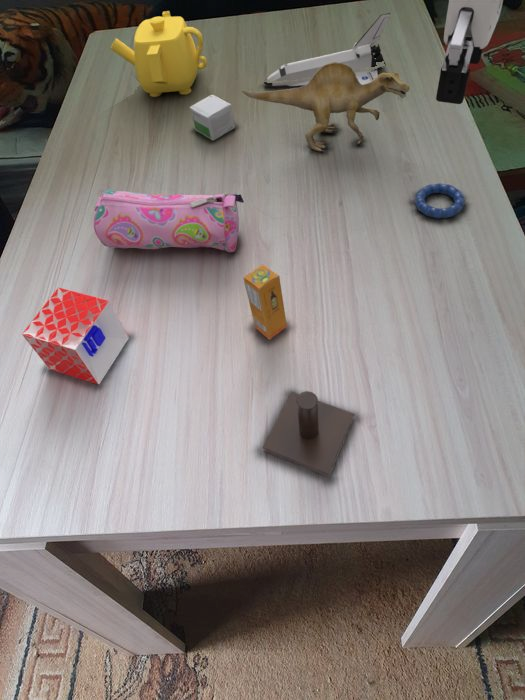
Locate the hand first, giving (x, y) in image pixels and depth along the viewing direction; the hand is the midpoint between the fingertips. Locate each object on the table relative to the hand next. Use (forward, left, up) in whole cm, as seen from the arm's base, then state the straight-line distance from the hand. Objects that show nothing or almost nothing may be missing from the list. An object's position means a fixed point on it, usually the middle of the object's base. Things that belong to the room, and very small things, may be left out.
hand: (458, 81), depth 67 cm
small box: (+43, -7, -19) cm, 48 cm away
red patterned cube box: (+34, +45, -19) cm, 60 cm away
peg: (+2, +45, -19) cm, 48 cm away
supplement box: (+13, +32, -19) cm, 40 cm away
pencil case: (+34, +22, -19) cm, 45 cm away
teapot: (+62, -19, -19) cm, 67 cm away
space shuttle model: (+30, -30, -19) cm, 46 cm away
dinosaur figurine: (+22, -10, -19) cm, 31 cm away
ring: (-1, +1, -18) cm, 18 cm away
